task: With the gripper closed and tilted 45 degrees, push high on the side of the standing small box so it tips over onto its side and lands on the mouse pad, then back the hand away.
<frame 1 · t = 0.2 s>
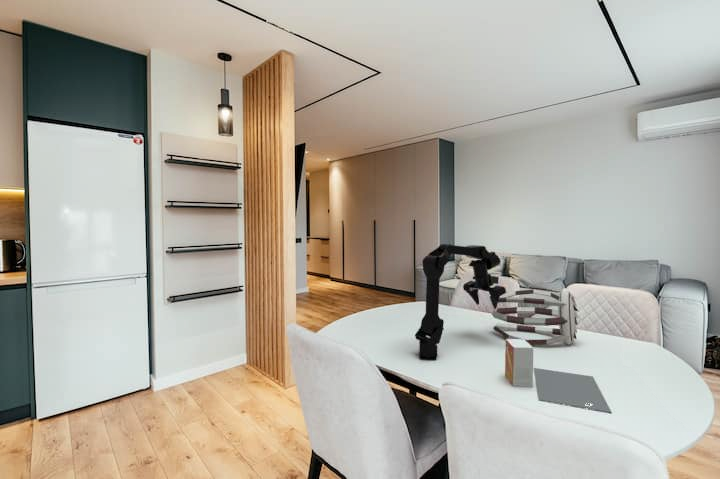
hand: (486, 306, 153), 15 cm above the table, tool pointing down, fingers open, 9 cm apart
small box: (518, 381, 116), on the table
decorative basket: (532, 338, 157), on the table
mouse pad: (567, 388, 110), on the table
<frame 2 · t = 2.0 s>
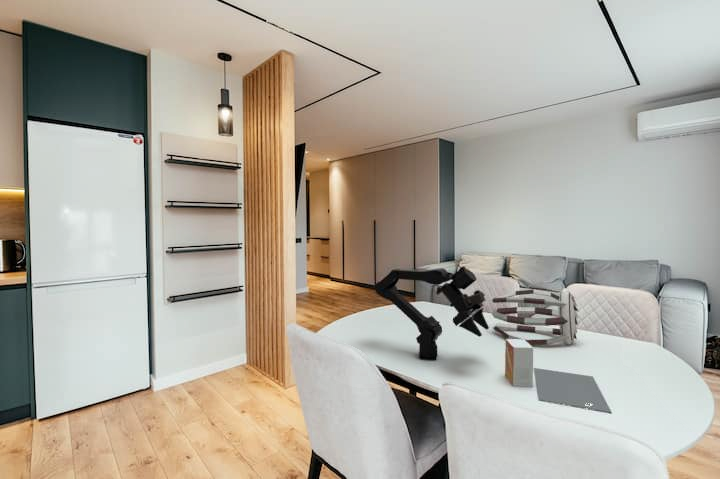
hand: (484, 332, 123), 14 cm above the table, tool tilted 45°, fingers open, 9 cm apart
nothing on the table moved.
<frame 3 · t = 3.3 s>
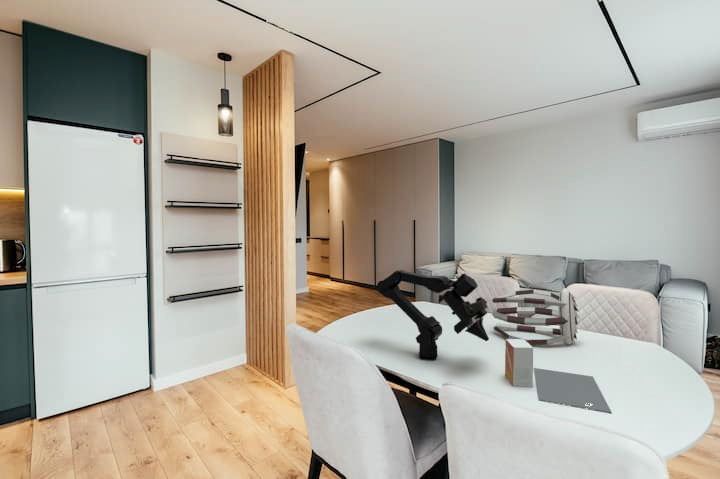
hand: (487, 340, 121), 12 cm above the table, tool tilted 45°, fingers closed
nothing on the table moved.
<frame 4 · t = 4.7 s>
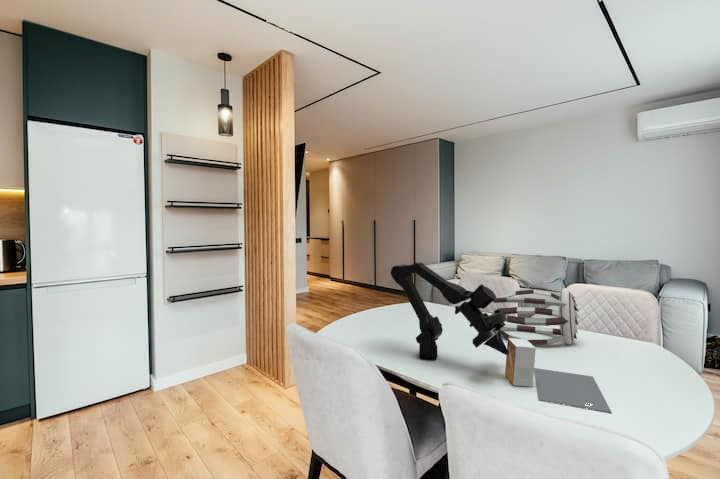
hand: (507, 353, 117), 8 cm above the table, tool tilted 45°, fingers closed
small box: (518, 381, 116), on the table, touching gripper
everything else where it was.
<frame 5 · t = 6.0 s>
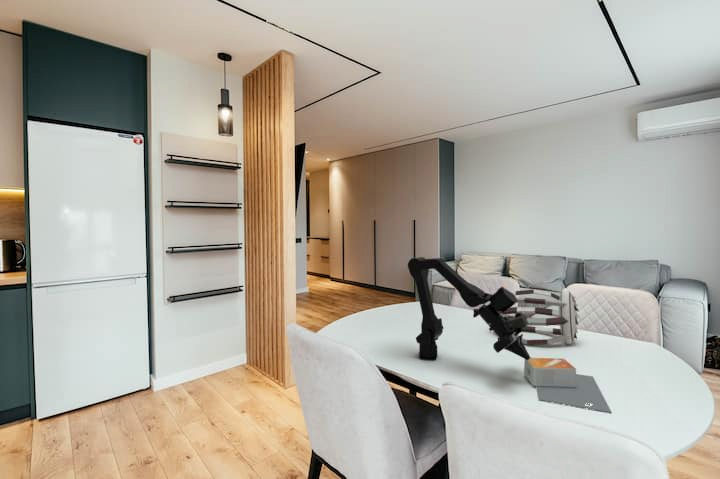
hand: (529, 359, 113), 8 cm above the table, tool tilted 45°, fingers closed
small box: (528, 371, 115), point 4 cm above the table, touching mouse pad
everything else where it was.
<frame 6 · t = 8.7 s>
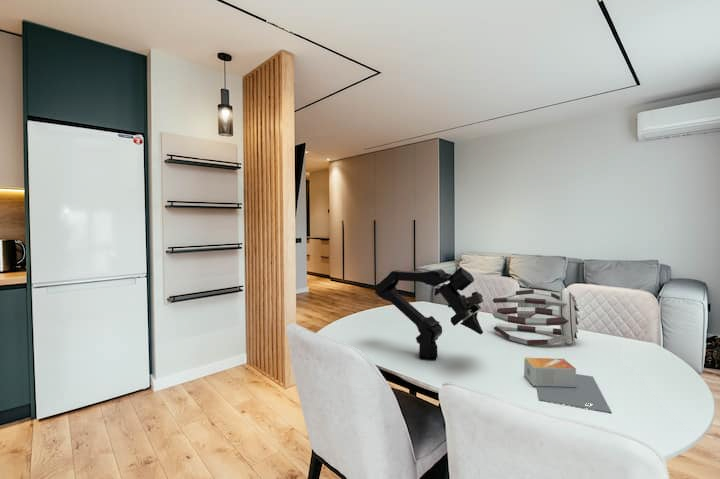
hand: (482, 333, 123), 13 cm above the table, tool tilted 45°, fingers closed
nothing on the table moved.
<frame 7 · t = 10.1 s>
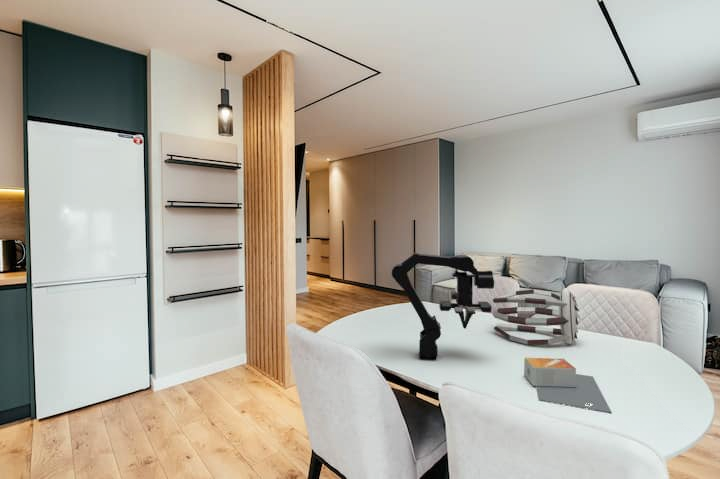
hand: (464, 328, 134), 12 cm above the table, tool pointing down, fingers closed
nothing on the table moved.
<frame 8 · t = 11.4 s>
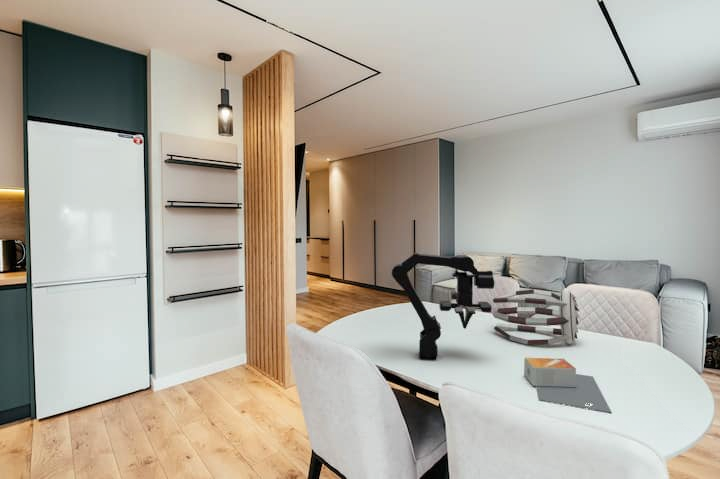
hand: (464, 328, 134), 12 cm above the table, tool pointing down, fingers closed
nothing on the table moved.
at the end: small box tilted 90°; small box touching mouse pad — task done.
